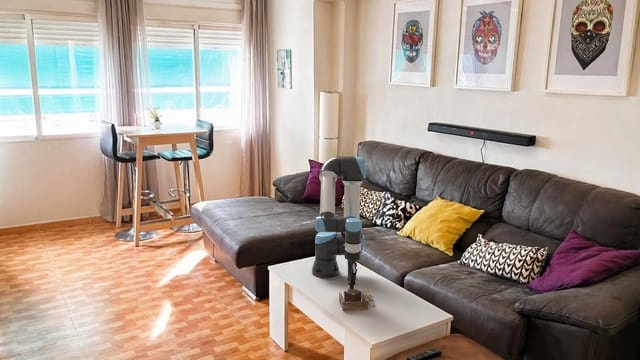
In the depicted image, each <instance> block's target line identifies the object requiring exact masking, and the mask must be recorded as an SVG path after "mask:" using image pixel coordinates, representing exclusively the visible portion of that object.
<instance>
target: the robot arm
mask: <svg viewBox="0 0 640 360" xmlns="http://www.w3.org/2000/svg"><path fill="white" fill-rule="evenodd" d="M318 177H319V180H320V202H319V204H320V205H319V216H316V217H315V225H314V226H315V231H316V232H318V233H317V234H315V239H314V240H315V241H314V243H315V245H314V246H315V249H314V250H315V251H314V252H315V253H314V254H315V255H314V256H315V257H314V261H313V264H312V267H311V274H312V275H313V276H316V277H319V278H333V277H336V276H338V275H339V274H340V268H339V264H338V261H337V256H344V259H345V260H347V261H346V262H347V281H348V282H347V286H348V287H347V288H348V289H347V290H349V289H351V288H354V289H355V286H356V282H357V272H358V269H357V267H358V262H357V261H359V260H360V259H361V256H362V254H363V251H364V245H365V238H366V237H365V234H363V230H362V229H363V224H362V220H361V219H360V216H361V215H360V214H361V213H360V212H361V185H362V184H363V182H364V179H366V177H367V172H366V163H365V158H363V157H362V156H338V155H336V156H332V157H330V158H329V159H327V160H326V161H325V162H323V164H322V166H321V168H320V170H319V174H318ZM338 179H341V182H342V183H343V186H344V189H343V190H344V192H343V193H344V197H343V200H344V201H343V204H344V205H343V216H336V214H335V213H336V181H337V180H338Z"/></svg>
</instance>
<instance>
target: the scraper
mask: <svg viewBox="0 0 640 360" xmlns="http://www.w3.org/2000/svg"><path fill="white" fill-rule="evenodd" d="M363 292H364V294H365V296H366V298H367V300H368V306H369V307H370V308H374V307H375V308H376V304H375V301H374V299H373V297H372V295H371V293H370V291H369V288H367V287H365V288H364V289H363Z"/></svg>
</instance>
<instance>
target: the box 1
mask: <svg viewBox="0 0 640 360" xmlns="http://www.w3.org/2000/svg"><path fill="white" fill-rule="evenodd" d="M361 292H362V290H361V291H360V290H359V289H356V288H355V287H354V288H351V289H349V290H348V289H347V290H344V291H343V299H344V301H345V302H352V301H362V300H361Z"/></svg>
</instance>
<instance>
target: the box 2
mask: <svg viewBox="0 0 640 360" xmlns="http://www.w3.org/2000/svg"><path fill="white" fill-rule="evenodd" d="M338 301H339V305H340V307H341V310H342V311H343V312H344V311H345V312H346V311H368V310H369V303H368V299H367V296H366V294H365V292H364V291H361V301H352V302H345V301H344V295H343V294H342V292H338Z"/></svg>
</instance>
